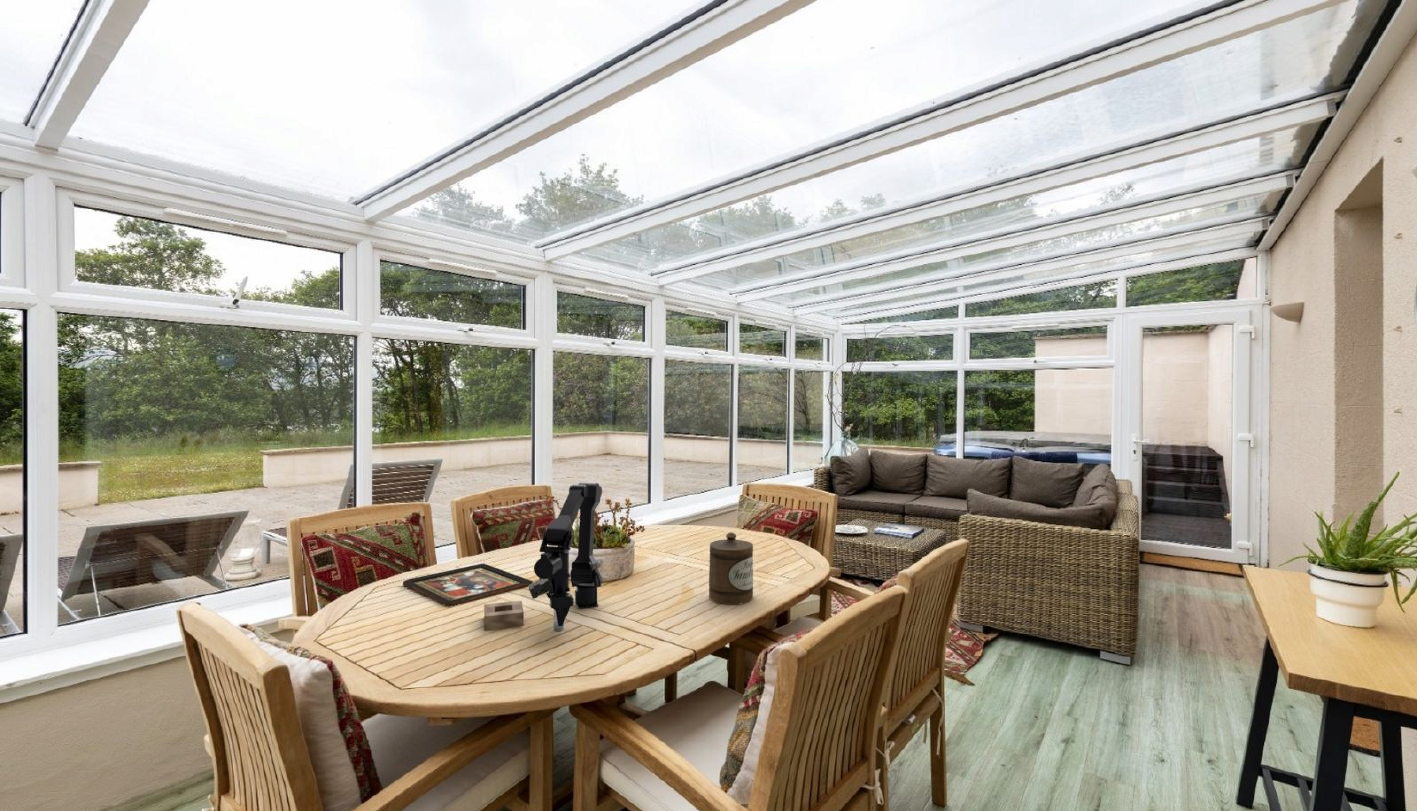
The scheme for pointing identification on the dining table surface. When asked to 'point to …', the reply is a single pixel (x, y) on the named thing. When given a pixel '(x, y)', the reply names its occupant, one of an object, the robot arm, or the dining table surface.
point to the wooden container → (731, 571)
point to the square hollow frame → (503, 615)
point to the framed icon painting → (466, 584)
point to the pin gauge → (556, 627)
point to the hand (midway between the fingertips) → (558, 622)
